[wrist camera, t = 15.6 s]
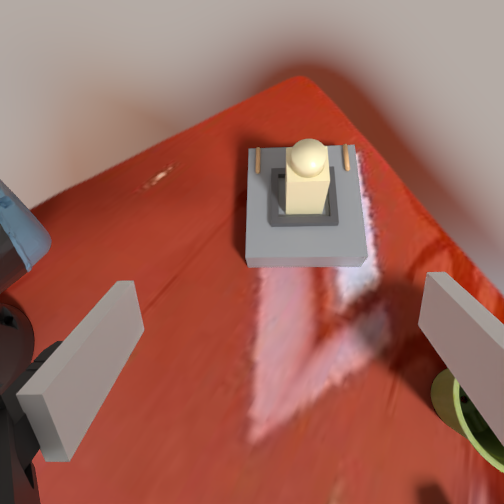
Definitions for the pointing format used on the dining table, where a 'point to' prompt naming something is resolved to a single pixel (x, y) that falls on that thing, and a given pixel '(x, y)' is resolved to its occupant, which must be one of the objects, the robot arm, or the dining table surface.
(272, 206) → the ball-topped post base
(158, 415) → the dining table surface
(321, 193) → the dome-topped cream pillar
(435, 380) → the plant pot
